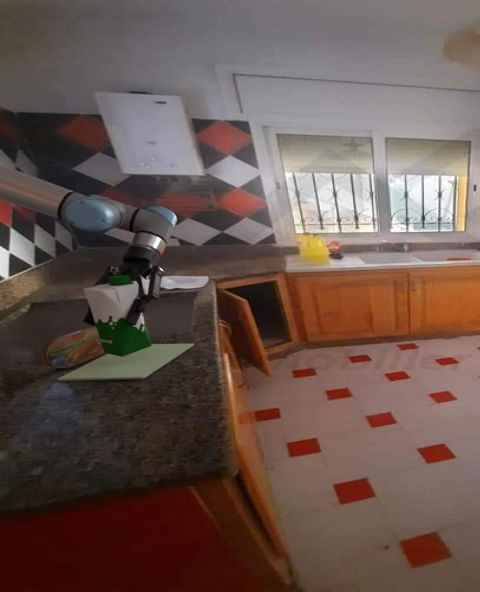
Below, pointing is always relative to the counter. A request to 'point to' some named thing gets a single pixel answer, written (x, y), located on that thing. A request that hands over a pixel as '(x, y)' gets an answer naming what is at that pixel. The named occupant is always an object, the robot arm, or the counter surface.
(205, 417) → the counter surface
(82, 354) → the tin
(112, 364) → the mat
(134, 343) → the soya milk
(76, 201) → the robot arm
